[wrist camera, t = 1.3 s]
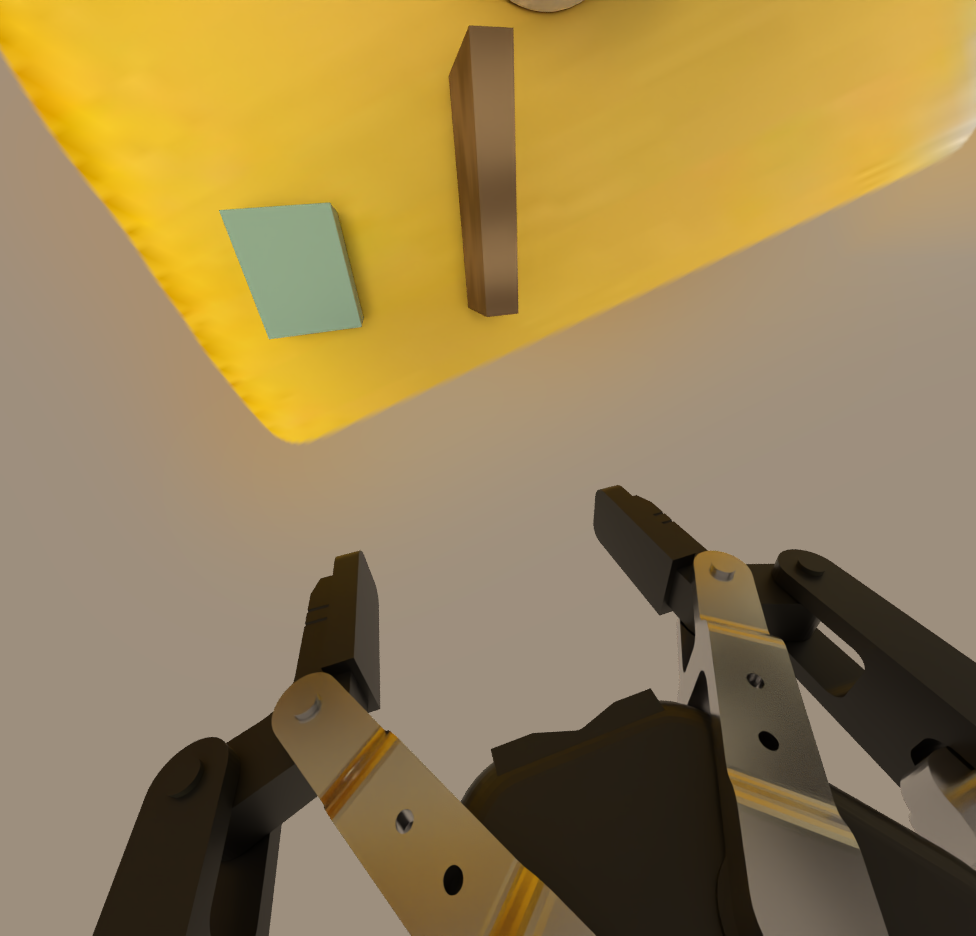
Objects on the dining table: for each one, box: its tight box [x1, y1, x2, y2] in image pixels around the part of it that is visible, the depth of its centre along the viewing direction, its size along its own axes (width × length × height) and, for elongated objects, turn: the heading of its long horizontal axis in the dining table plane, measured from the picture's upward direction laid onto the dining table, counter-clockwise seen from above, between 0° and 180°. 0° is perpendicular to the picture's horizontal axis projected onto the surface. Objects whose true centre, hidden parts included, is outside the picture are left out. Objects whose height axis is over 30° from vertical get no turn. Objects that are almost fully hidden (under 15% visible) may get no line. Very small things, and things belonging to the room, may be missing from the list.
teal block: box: [219, 203, 363, 339], centre depth 25 cm, size 7×6×5 cm
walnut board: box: [449, 26, 518, 317], centre depth 25 cm, size 14×2×6 cm, turn 4°
